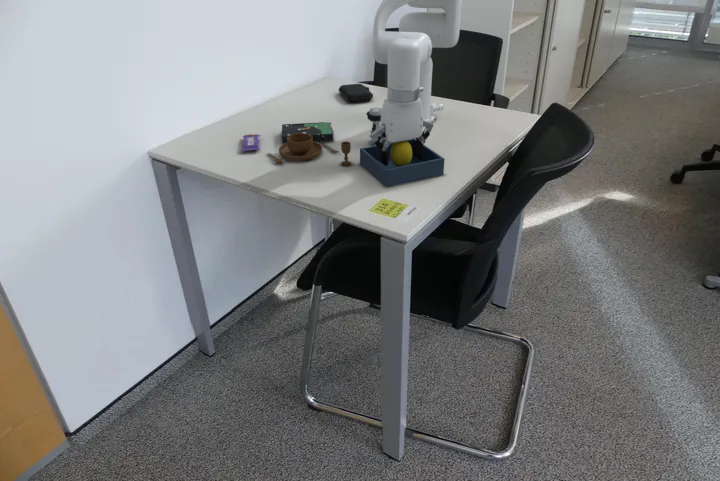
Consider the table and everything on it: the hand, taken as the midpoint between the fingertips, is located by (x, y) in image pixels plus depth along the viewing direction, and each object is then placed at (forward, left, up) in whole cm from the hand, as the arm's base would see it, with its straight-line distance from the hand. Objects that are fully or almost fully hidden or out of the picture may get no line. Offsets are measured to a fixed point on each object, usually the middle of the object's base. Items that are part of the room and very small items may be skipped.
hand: (401, 160), depth 138 cm
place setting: (+19, -17, -3) cm, 26 cm away
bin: (0, 0, -2) cm, 2 cm away
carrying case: (-15, -61, -3) cm, 63 cm away
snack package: (+31, -33, -3) cm, 45 cm away
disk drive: (+14, -32, -3) cm, 35 cm away
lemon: (0, 0, -2) cm, 2 cm away
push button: (-2, -18, -3) cm, 18 cm away
